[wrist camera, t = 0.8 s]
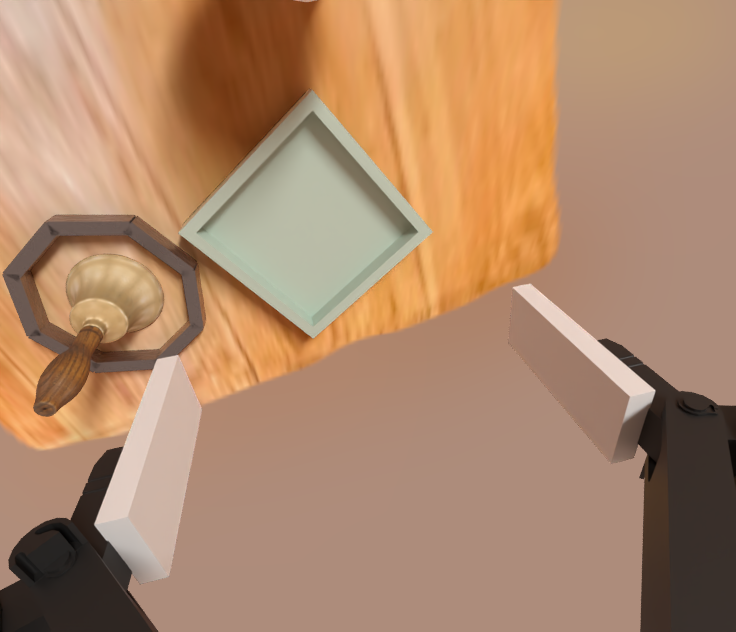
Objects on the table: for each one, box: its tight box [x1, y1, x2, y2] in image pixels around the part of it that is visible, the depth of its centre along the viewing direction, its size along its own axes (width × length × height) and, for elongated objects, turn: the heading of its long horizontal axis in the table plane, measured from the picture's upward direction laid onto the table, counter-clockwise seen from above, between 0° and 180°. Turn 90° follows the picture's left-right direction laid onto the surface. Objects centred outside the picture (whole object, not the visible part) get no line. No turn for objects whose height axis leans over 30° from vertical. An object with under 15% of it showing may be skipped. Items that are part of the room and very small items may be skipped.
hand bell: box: [33, 254, 164, 417], centre depth 34 cm, size 8×8×16 cm
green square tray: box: [179, 88, 432, 338], centre depth 39 cm, size 16×16×3 cm
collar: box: [2, 215, 206, 373], centre depth 40 cm, size 15×15×2 cm
